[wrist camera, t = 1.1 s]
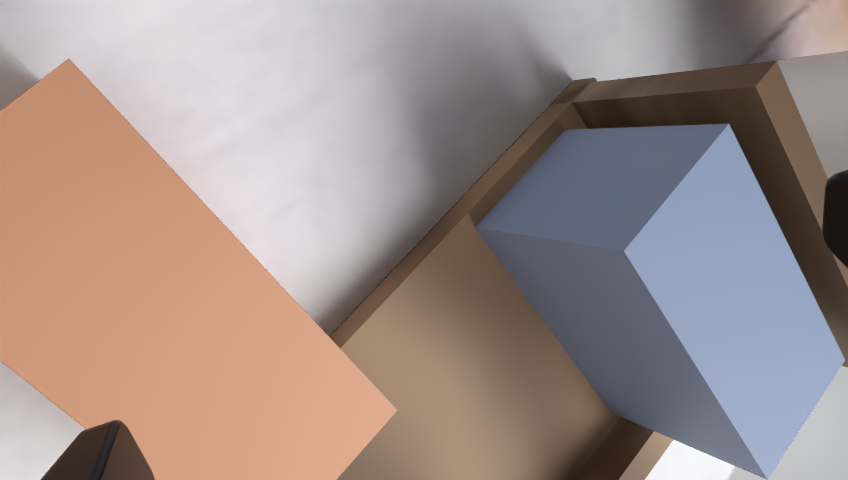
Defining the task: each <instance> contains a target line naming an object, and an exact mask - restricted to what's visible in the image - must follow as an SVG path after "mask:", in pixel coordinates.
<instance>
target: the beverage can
mask: <svg viewBox="0 0 848 480" xmlns="http://www.w3.org/2000/svg"><path fill="white" fill-rule="evenodd" d="M777 62H778V65H779V67H780V69H781V72H782V74H783V76H784V78H785V81H786V83H787V85H788V88H789V90H790V92H791V94H792V97H793V99H794V101H795V104H796V106H797V108H798V111H799V113H800V115H801V117H802V120H803V122H804V124H805V127H806V129H807V131H808V133H809V136H810V138H811V140H812V143H813V145H814V147H815V150H816V152H817V154H818V156H819V159H820V161H821V163H822V166H823V168H824V170H825V172H826V175H827V177H828V179H829V178H830V177H831V176H832V175H834V174H836V173H839V172H842V171H845V170H848V51H845V52H837V53H829V54H820V55H812V56H805V57H797V58H790V59H783V60H778V61H777Z"/></svg>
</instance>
